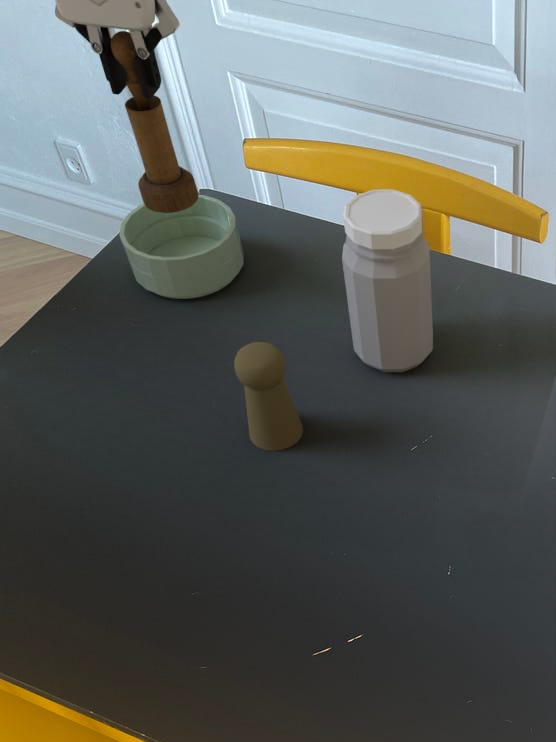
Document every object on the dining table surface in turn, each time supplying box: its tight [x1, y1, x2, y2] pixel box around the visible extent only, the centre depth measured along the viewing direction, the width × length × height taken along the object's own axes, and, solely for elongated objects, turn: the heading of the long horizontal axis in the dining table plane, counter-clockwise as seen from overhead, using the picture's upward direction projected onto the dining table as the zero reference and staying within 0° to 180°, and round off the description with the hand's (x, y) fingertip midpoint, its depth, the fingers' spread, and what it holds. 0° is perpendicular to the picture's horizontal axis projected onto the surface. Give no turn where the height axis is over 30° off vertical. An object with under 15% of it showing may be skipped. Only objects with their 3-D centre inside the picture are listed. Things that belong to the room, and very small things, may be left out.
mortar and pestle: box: [111, 30, 199, 213], centre depth 101 cm, size 7×6×18 cm
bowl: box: [119, 194, 245, 300], centre depth 114 cm, size 14×14×6 cm
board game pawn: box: [233, 341, 304, 452], centre depth 96 cm, size 6×6×11 cm
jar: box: [341, 189, 434, 373], centre depth 100 cm, size 10×10×18 cm
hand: (136, 89), depth 98 cm, fingers closed on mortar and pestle, 3 cm apart
